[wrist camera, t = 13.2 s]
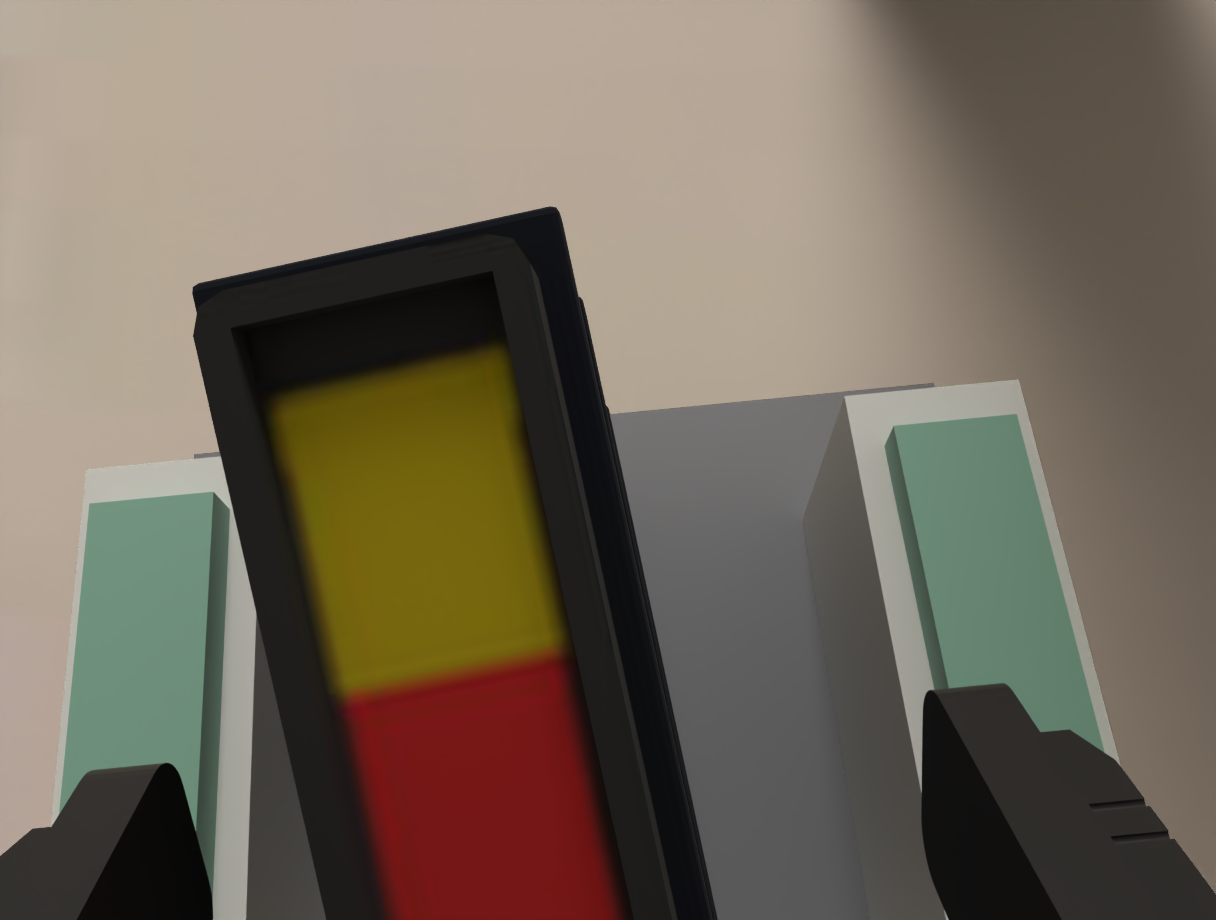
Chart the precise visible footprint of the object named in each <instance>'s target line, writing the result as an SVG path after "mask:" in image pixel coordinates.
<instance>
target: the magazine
mask: <svg viewBox="0 0 1216 920" xmlns="http://www.w3.org/2000/svg"><path fill="white" fill-rule="evenodd" d="M192 294H193V298H194V302H195V307H196V311H197V317H196V323H195V329H194V334H193V337H194V341H195V346H196V350H197V354H198V359H199V363H200V368H201V372H202V376H203V381H204V385H205V390H206V394H207V398H208V403H209V407H210V412H211V416H212V420H213V425H214V429H215V434H216V438H217V442H218V447H219V451H220V455H221V460H222V464H223V469H224V473H225V477H226V482H227V486H228V491H229V495H230V499H231V504H232V508H233V513H234V517H235V521H236V526H237V530H238V535H239V539H240V543H241V548H242V552H243V556H244V561H245V565H246V570H247V574H248V578H249V583H250V587H251V592H252V596H253V600H254V605H255V609H256V614H257V618H258V622H259V627H260V631H261V635H262V640H263V644H264V649H265V653H266V657H267V662H268V666H269V671H270V675H271V679H272V684H273V688H274V693H275V697H276V701H277V706H278V710H279V715H280V719H281V723H282V728H283V732H284V736H285V741H286V745H287V750H288V754H289V758H290V763H291V767H292V772H293V776H294V780H295V785H296V789H297V794H298V798H299V802H300V807H301V811H302V816H303V820H304V824H305V829H306V833H307V837H308V842H309V846H310V851H311V855H312V859H313V864H314V868H315V873H316V877H317V881H318V886H319V890H320V895H321V899H322V903H323V908H324V912H325V916H326V920H718V918H717V914H716V909H715V904H714V900H713V895H712V890H711V886H710V881H709V876H708V872H707V867H706V862H705V857H704V853H703V848H702V843H701V839H700V834H699V829H698V825H697V820H696V815H695V811H694V806H693V801H692V796H691V792H690V787H689V782H688V778H687V773H686V768H685V764H684V759H683V754H682V750H681V745H680V740H679V735H678V731H677V726H676V721H675V717H674V712H673V707H672V703H671V698H670V693H669V689H668V684H667V679H666V674H665V670H664V665H663V660H662V656H661V651H660V646H659V642H658V637H657V632H656V627H655V623H654V618H653V613H652V609H651V604H650V599H649V595H648V590H647V585H646V581H645V576H644V571H643V566H642V562H641V557H640V552H639V548H638V543H637V538H636V534H635V529H634V524H633V520H632V515H631V510H630V505H629V501H628V496H627V491H626V487H625V482H624V477H623V473H622V468H621V463H620V459H619V454H618V449H617V444H616V440H615V435H614V430H613V426H612V421H611V417H610V413H609V409H608V407H607V406H606V404H605V400H604V395H603V390H602V386H601V381H600V376H599V372H598V367H597V362H596V358H595V353H594V348H593V344H592V339H591V334H590V330H589V325H588V320H587V316H586V312H585V307H584V303H583V300H582V299H581V297H578V292H577V288H576V283H575V278H574V274H573V269H572V264H571V260H570V255H569V250H568V246H567V241H566V236H565V232H564V227H563V223H562V219H561V216H560V213H559V211H558V210H557V208H556V207H545V208H541V209H536V210H532V211H527V212H522V213H518V214H513V215H509V216H504V217H500V218H495V219H491V220H486V221H481V222H477V223H472V224H468V225H463V226H459V227H454V228H449V229H445V230H440V231H436V232H431V233H427V234H422V235H417V236H413V237H408V238H404V239H399V240H395V241H390V242H385V243H381V244H376V245H372V246H367V247H363V248H358V249H353V250H349V251H344V252H340V253H335V254H331V255H326V256H321V257H317V258H312V259H308V260H303V261H299V262H294V263H290V264H285V265H280V266H276V267H271V268H267V269H262V270H258V271H253V272H248V273H244V274H239V275H235V276H230V277H226V278H221V279H216V280H212V281H207V282H203V283H198V284H197V285H195V286H194V287H193V292H192Z"/></svg>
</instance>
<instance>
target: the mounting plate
mask: <svg viewBox="0 0 1216 920" xmlns="http://www.w3.org/2000/svg"><path fill="white" fill-rule="evenodd" d="M610 417H611V421H612V426H613V430H614V435H615V440H616V444H617V449H618V454H619V459H620V463H621V468H622V473H623V477H624V482H625V487H626V491H627V496H628V501H629V505H630V510H631V515H632V520H633V524H634V529H635V534H636V538H637V543H638V548H639V552H640V557H641V562H642V566H643V571H644V576H645V581H646V585H647V590H648V595H649V599H650V604H651V609H652V613H653V618H654V623H655V627H656V632H657V637H658V642H659V646H660V651H661V656H662V660H663V665H664V670H665V674H666V679H667V684H668V689H669V693H670V698H671V703H672V707H673V712H674V717H675V721H676V726H677V731H678V735H679V740H680V745H681V750H682V754H683V759H684V764H685V768H686V773H687V778H688V782H689V787H690V792H691V796H692V801H693V806H694V811H695V815H696V820H697V825H698V829H699V834H700V839H701V843H702V848H703V853H704V857H705V862H706V867H707V872H708V876H709V881H710V886H711V890H712V895H713V900H714V904H715V909H716V914H717V918H718V920H949V919H948V917H947V915H946V912H945V910H944V908H943V905H942V903H941V901H940V898H939V896H938V894H937V892H936V889H935V887H934V884H933V881H932V878H931V875H930V872H929V868H928V864H927V860H926V855H925V849H924V843H923V836H922V824H921V797H922V723H923V703H924V698H925V695H926V693H927V692H928V691H929V690H936V689H946V688H957V687H967V686H977V685H987V684H998V683H1005V684H1007V685H1008V686H1009V687H1010V688H1011V689H1012V691H1013V692H1014V693H1015V695H1016V696H1017V698H1018V699H1019V701H1020V702H1021V704H1022V705H1023V707H1024V708H1025V710H1026V711H1027V713H1028V714H1029V716H1030V717H1031V719H1032V720H1033V722H1034V723H1035V725H1036V726H1037V728H1038V729H1039V731H1040V732H1048V731H1058V730H1068V729H1070V730H1071V731H1073V732H1074V733H1076V734H1077V735H1079V736H1080V737H1082V738H1083V739H1085V740H1086V741H1088V742H1089V743H1091V744H1092V745H1094V746H1095V747H1097V748H1098V749H1100V750H1101V751H1103V752H1104V753H1106V754H1107V755H1109V756H1110V757H1112V758H1113V759H1115V760H1116V761H1117V763H1118V764H1119V765H1120V761H1119V757H1118V754H1117V750H1116V746H1115V742H1114V739H1113V735H1112V731H1111V727H1110V723H1109V720H1108V716H1107V712H1106V708H1105V704H1104V701H1103V697H1102V693H1101V689H1100V685H1099V682H1098V678H1097V674H1096V670H1095V667H1094V663H1093V659H1092V655H1091V651H1090V648H1089V644H1088V640H1087V636H1086V632H1085V629H1084V625H1083V621H1082V617H1081V614H1080V610H1079V606H1078V602H1077V598H1076V595H1075V591H1074V587H1073V583H1072V579H1071V576H1070V572H1069V568H1068V564H1067V560H1066V557H1065V553H1064V549H1063V545H1062V542H1061V538H1060V534H1059V530H1058V526H1057V523H1056V519H1055V515H1054V511H1053V507H1052V504H1051V500H1050V496H1049V492H1048V489H1047V485H1046V481H1045V477H1044V473H1043V470H1042V466H1041V462H1040V458H1039V454H1038V451H1037V447H1036V443H1035V439H1034V436H1033V432H1032V428H1031V424H1030V420H1029V417H1028V413H1027V409H1026V405H1025V401H1024V398H1023V394H1022V390H1021V386H1020V382H1019V379H1016V380H1006V381H995V382H985V383H975V384H964V385H954V386H944V387H934V384H933V383H930V384H919V385H909V386H898V387H888V388H878V389H867V390H857V391H847V392H836V393H826V394H816V395H805V396H795V397H784V398H774V399H764V400H753V401H743V402H733V403H722V404H712V405H702V406H691V407H681V408H670V409H660V410H650V411H639V412H629V413H619V414H610ZM159 763H170V764H172V765H173V766H174V767H175V768H176V769H177V771H178V772H179V775H180V777H181V779H182V783H183V786H184V790H185V793H186V797H187V801H188V805H189V808H190V812H191V816H192V819H193V823H194V827H195V831H196V834H197V838H198V842H199V845H200V849H201V853H202V857H203V860H204V864H205V868H206V871H207V875H208V879H209V883H210V887H211V893H212V901H213V920H326V916H325V912H324V908H323V903H322V899H321V895H320V890H319V886H318V881H317V877H316V873H315V868H314V864H313V859H312V855H311V851H310V846H309V842H308V837H307V833H306V829H305V824H304V820H303V816H302V811H301V807H300V802H299V798H298V794H297V789H296V785H295V780H294V776H293V772H292V767H291V763H290V758H289V754H288V750H287V745H286V741H285V736H284V732H283V728H282V723H281V719H280V715H279V710H278V706H277V701H276V697H275V693H274V688H273V684H272V679H271V675H270V671H269V666H268V662H267V657H266V653H265V649H264V644H263V640H262V635H261V631H260V627H259V622H258V618H257V614H256V609H255V605H254V600H253V596H252V592H251V587H250V583H249V578H248V574H247V570H246V565H245V561H244V556H243V552H242V548H241V543H240V539H239V535H238V530H237V526H236V521H235V517H234V513H233V508H232V504H231V499H230V495H229V491H228V486H227V482H226V477H225V473H224V469H223V464H222V460H221V455H220V452H214V453H204V454H194V459H187V460H177V461H166V462H156V463H146V464H135V465H125V466H115V467H104V468H94V469H86V477H85V487H84V497H83V507H82V517H81V527H80V537H79V547H78V557H77V567H76V577H75V587H74V597H73V607H72V617H71V627H70V637H69V647H68V657H67V667H66V677H65V687H64V697H63V707H62V717H61V727H60V737H59V746H58V756H57V766H56V776H55V786H54V796H53V806H52V816H51V826H50V827H52V825H53V823H54V822H55V820H56V819H57V817H58V815H59V814H60V812H61V811H62V809H63V807H64V806H65V804H66V802H67V801H68V799H69V798H70V796H71V794H72V793H73V791H74V790H75V788H76V786H77V785H78V783H79V782H80V780H81V779H82V777H83V776H84V775H85V774H86V773H87V772H89V771H91V770H98V769H108V768H118V767H129V766H139V765H149V764H159ZM1120 767H1121V765H1120Z"/></svg>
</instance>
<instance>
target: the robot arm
mask: <svg viewBox="0 0 1216 920" xmlns="http://www.w3.org/2000/svg"><path fill="white" fill-rule="evenodd" d="M921 824H922V836H923V843H924V849H925V855H926V860H927V864H928V868H929V872H930V875H931V878H932V881H933V884H934V887H935V889H936V892H937V894H938V896H939V898H940V901H941V903H942V905H943V908H944V910H945V912H946V915H947V917H948V919H949V920H1216V894H1215V893H1214V891H1213V890H1212V889H1211V887H1210V886H1209V885H1208V883H1207V882H1206V881H1205V879H1204V878H1203V877H1202V875H1201V874H1200V873H1199V871H1198V870H1197V869H1196V867H1195V866H1194V865H1193V863H1192V862H1191V861H1190V859H1189V858H1188V857H1187V855H1186V854H1185V852H1184V851H1183V850H1182V848H1181V847H1180V846H1179V844H1178V843H1177V842H1176V840H1175V839H1170V838H1169V834H1168V830H1167V828H1166V827H1165V826H1164V824H1163V823H1162V822H1161V820H1160V819H1159V818H1158V816H1157V815H1156V814H1155V812H1154V811H1153V810H1152V808H1151V807H1150V806H1147V807H1146V805H1145V802H1144V797H1143V796H1142V795H1141V793H1140V792H1139V791H1138V789H1137V788H1136V787H1135V785H1134V784H1133V783H1132V781H1131V780H1130V779H1129V777H1128V776H1127V775H1126V773H1125V772H1124V771H1123V769H1122V768H1121V767H1120V765H1119V764H1118V763H1117V761H1116V760H1115V759H1113V758H1112V757H1110V756H1109V755H1107V754H1106V753H1104V752H1103V751H1101V750H1100V749H1098V748H1097V747H1095V746H1094V745H1092V744H1091V743H1089V742H1088V741H1086V740H1085V739H1083V738H1082V737H1080V736H1079V735H1077V734H1076V733H1074V732H1073V731H1071V730H1070V729H1068V730H1058V731H1048V732H1040V731H1039V729H1038V728H1037V726H1036V725H1035V723H1034V722H1033V720H1032V719H1031V717H1030V716H1029V714H1028V713H1027V711H1026V710H1025V708H1024V707H1023V705H1022V704H1021V702H1020V701H1019V699H1018V698H1017V696H1016V695H1015V693H1014V692H1013V691H1012V689H1011V688H1010V687H1009V686H1008V685H1007V684H1005V683H998V684H987V685H977V686H967V687H957V688H946V689H936V690H929V691H928V692H927V693H926V695H925V698H924V703H923V723H922V797H921ZM0 920H213V901H212V893H211V887H210V883H209V879H208V875H207V871H206V868H205V864H204V860H203V857H202V853H201V849H200V845H199V842H198V838H197V834H196V831H195V827H194V823H193V819H192V816H191V812H190V808H189V805H188V801H187V797H186V793H185V790H184V786H183V783H182V779H181V777H180V775H179V772H178V771H177V769H176V768H175V767H174V766H173V765H172V764H170V763H159V764H149V765H139V766H129V767H118V768H108V769H98V770H91V771H89V772H87V773H86V774H85V775H84V776H83V777H82V779H81V780H80V782H79V783H78V785H77V786H76V788H75V790H74V791H73V793H72V794H71V796H70V798H69V799H68V801H67V802H66V804H65V806H64V807H63V809H62V811H61V812H60V814H59V815H58V817H57V819H56V820H55V822H54V823H53V825H52V827H46V828H36V829H32V830H31V831H29V832H28V833H27V834H26V835H25V836H24V837H22V838H21V839H20V840H19V841H18V842H16V843H15V844H14V845H13V846H12V847H11V848H9V849H8V850H7V851H6V852H5V853H3V854H2V855H1V856H0Z"/></svg>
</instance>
